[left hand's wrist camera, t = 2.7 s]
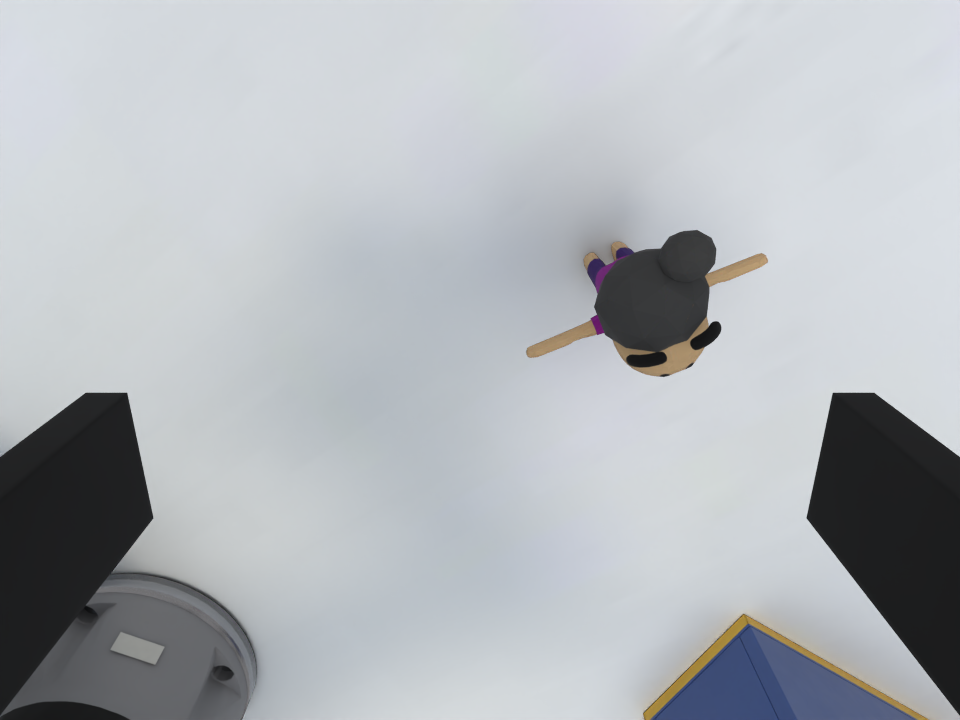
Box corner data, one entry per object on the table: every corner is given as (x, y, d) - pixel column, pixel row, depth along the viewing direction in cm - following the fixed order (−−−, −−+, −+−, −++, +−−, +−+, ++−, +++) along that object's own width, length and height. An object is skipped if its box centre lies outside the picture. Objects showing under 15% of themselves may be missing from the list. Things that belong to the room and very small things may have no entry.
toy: (528, 321, 38) (555, 453, 24) (490, 232, 36) (494, 319, 22) (706, 248, 36) (846, 343, 22) (676, 151, 35) (806, 189, 21)
